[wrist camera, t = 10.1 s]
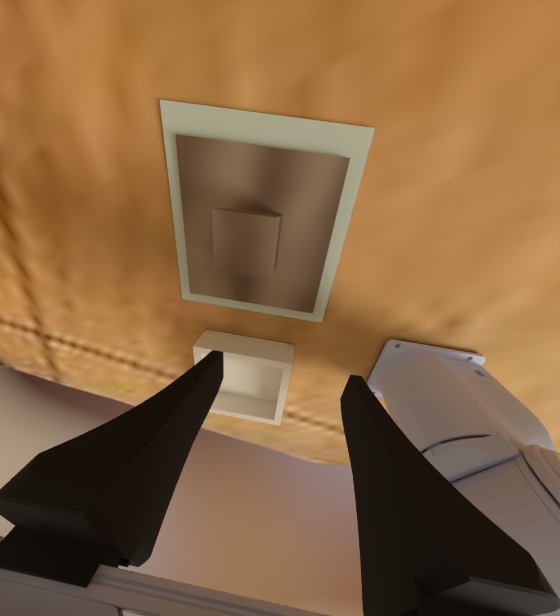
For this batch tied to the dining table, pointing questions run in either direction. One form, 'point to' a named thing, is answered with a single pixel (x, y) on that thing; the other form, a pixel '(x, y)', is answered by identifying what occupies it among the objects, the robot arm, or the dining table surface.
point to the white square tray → (249, 375)
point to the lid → (257, 220)
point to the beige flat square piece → (269, 134)
